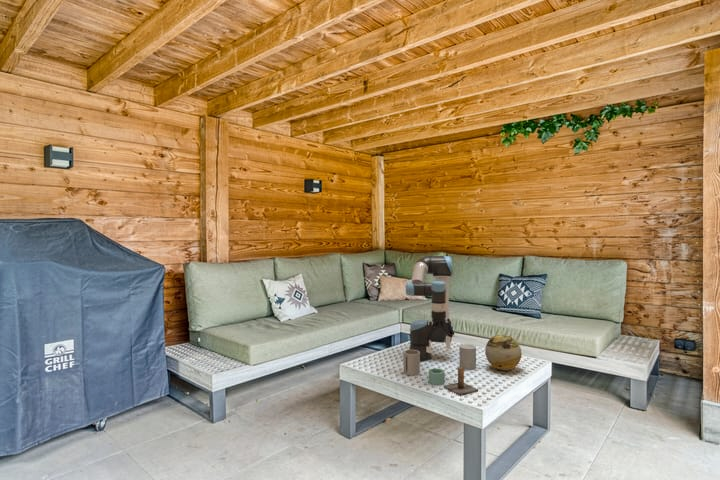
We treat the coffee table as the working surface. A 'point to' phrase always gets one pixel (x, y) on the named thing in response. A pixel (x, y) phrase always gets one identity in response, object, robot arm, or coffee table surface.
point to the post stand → (461, 385)
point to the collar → (436, 376)
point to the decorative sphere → (503, 352)
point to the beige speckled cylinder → (467, 357)
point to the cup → (411, 362)
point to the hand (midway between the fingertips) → (438, 350)
